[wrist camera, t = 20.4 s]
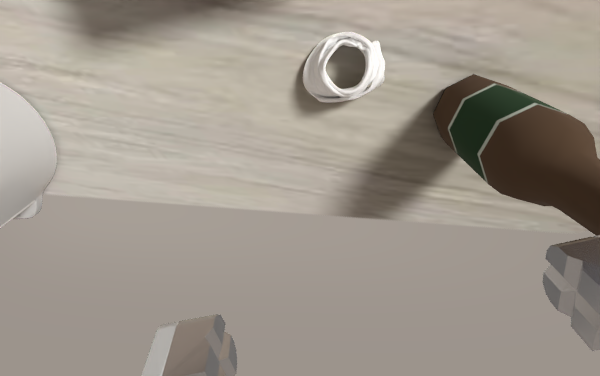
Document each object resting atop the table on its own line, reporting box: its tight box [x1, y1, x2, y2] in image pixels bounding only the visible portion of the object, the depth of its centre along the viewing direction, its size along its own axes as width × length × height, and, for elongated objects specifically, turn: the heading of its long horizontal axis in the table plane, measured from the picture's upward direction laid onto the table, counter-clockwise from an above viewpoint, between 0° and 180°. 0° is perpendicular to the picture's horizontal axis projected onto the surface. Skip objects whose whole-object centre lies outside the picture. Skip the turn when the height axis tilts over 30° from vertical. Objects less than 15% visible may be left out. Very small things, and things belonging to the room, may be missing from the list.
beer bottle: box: [433, 74, 600, 236], centre depth 29 cm, size 8×8×24 cm
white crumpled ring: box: [303, 32, 385, 103], centre depth 35 cm, size 8×7×5 cm
